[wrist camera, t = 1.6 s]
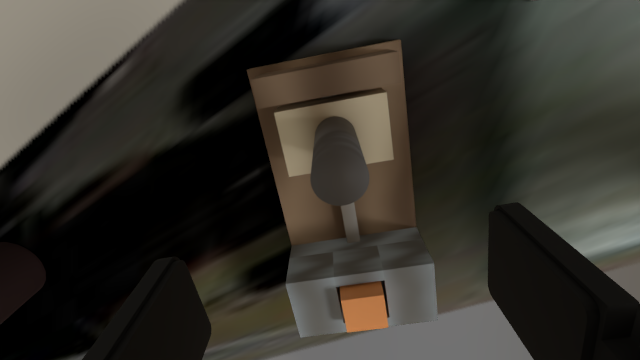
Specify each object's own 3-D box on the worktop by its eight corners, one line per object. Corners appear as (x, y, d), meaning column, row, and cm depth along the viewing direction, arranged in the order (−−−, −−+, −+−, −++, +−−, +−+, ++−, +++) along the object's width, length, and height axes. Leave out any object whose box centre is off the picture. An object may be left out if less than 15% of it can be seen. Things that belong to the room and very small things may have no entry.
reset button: (378, 270, 29) (384, 295, 26) (382, 300, 30) (388, 327, 27) (339, 275, 29) (340, 300, 26) (345, 305, 30) (347, 332, 28)
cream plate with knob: (381, 87, 25) (415, 117, 16) (388, 149, 27) (422, 210, 18) (278, 106, 26) (250, 146, 16) (291, 166, 28) (274, 232, 18)
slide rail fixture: (396, 39, 27) (419, 40, 20) (416, 268, 35) (437, 320, 29) (250, 68, 28) (227, 77, 21) (304, 284, 36) (300, 337, 30)
